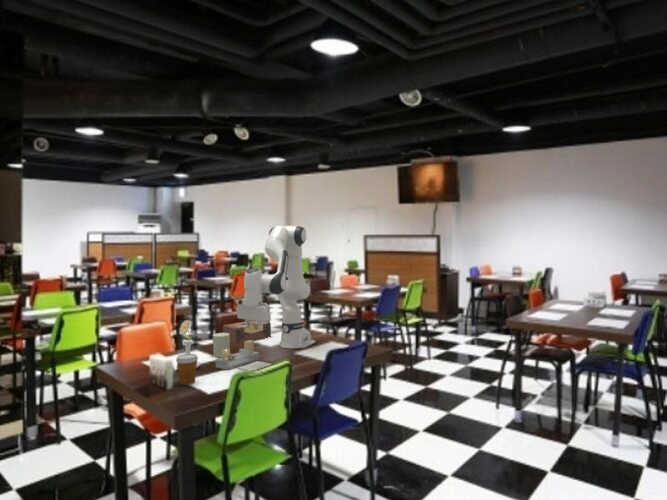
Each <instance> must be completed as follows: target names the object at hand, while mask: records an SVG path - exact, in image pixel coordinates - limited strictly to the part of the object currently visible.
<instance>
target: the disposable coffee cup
mask: <svg viewBox="0 0 667 500" xmlns="http://www.w3.org/2000/svg"><path fill="white" fill-rule="evenodd" d="M198 359H199V357H198V355H197V354H196V353H191V354H186V353H183V354H179V355H177V356H176V359H175V361H176V363H177V364H176V366H177V365H178V368H177V371H178V377H179V384H180V385H185V386H187V385H192V384H194V383H195V382H196V373H197V368H196V365H197V360H198Z"/></svg>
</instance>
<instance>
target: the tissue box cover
mask: <svg viewBox="0 0 667 500" xmlns="http://www.w3.org/2000/svg"><path fill="white" fill-rule="evenodd" d="M249 322H250V325H251V324H252V323H258V321H254V320H250V321H249ZM262 324H263V330H262V331H258V332H255V333H247V332H244V326H247V324H246V322H245V321H241V322H236V323H230V324H224V325H223V327H222V328H223V329H222V330H223V331H222V333H229V334H230V344H233V345H240V344H244V342H245V341H248V340H252V341H254V342H255V341H260V340H266V339H265V338H267V339H269V338H268V337H272V336H271V335H272V334H271V330H272V329H271V327H272V326H271V324H272V323H271V322H270V321H268V322H263V323H262Z"/></svg>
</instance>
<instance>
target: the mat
mask: <svg viewBox="0 0 667 500" xmlns="http://www.w3.org/2000/svg"><path fill="white" fill-rule="evenodd" d="M270 365H271V366H273V364H272V363H269V362H263V361H260V360H257V361H254V362H251V363H248V364H245V365H242V366H239V367H237V370H241V371H246V372H248V371H247V370H257V369H260V370H262V369H261V368H263V369H265V368H268V367H270ZM267 366H268V367H267ZM264 367H265V368H264ZM257 371H258V370H257Z"/></svg>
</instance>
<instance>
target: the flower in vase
mask: <svg viewBox="0 0 667 500" xmlns="http://www.w3.org/2000/svg"><path fill="white" fill-rule="evenodd" d="M190 327H191V321H190V320H189V319H186V320H184V321H183V322H182V323H181V325H180V327H179V329H178V330H179V334H180V335H181V336H184V337H185V338H186V340H182V343H183V345H184V348H185V354H192V353H191V347H192V344H193V342H194V340H193V339H192V335H191V334H190V333H191V332H190V331H189V330H190ZM187 333H188V334H189V335H188V334H187ZM200 366H201V362H200V361H199V360H198V359H197V365H196V369H197V368H199V367H200ZM176 368H177V369H178V365H177V364H176Z"/></svg>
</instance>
